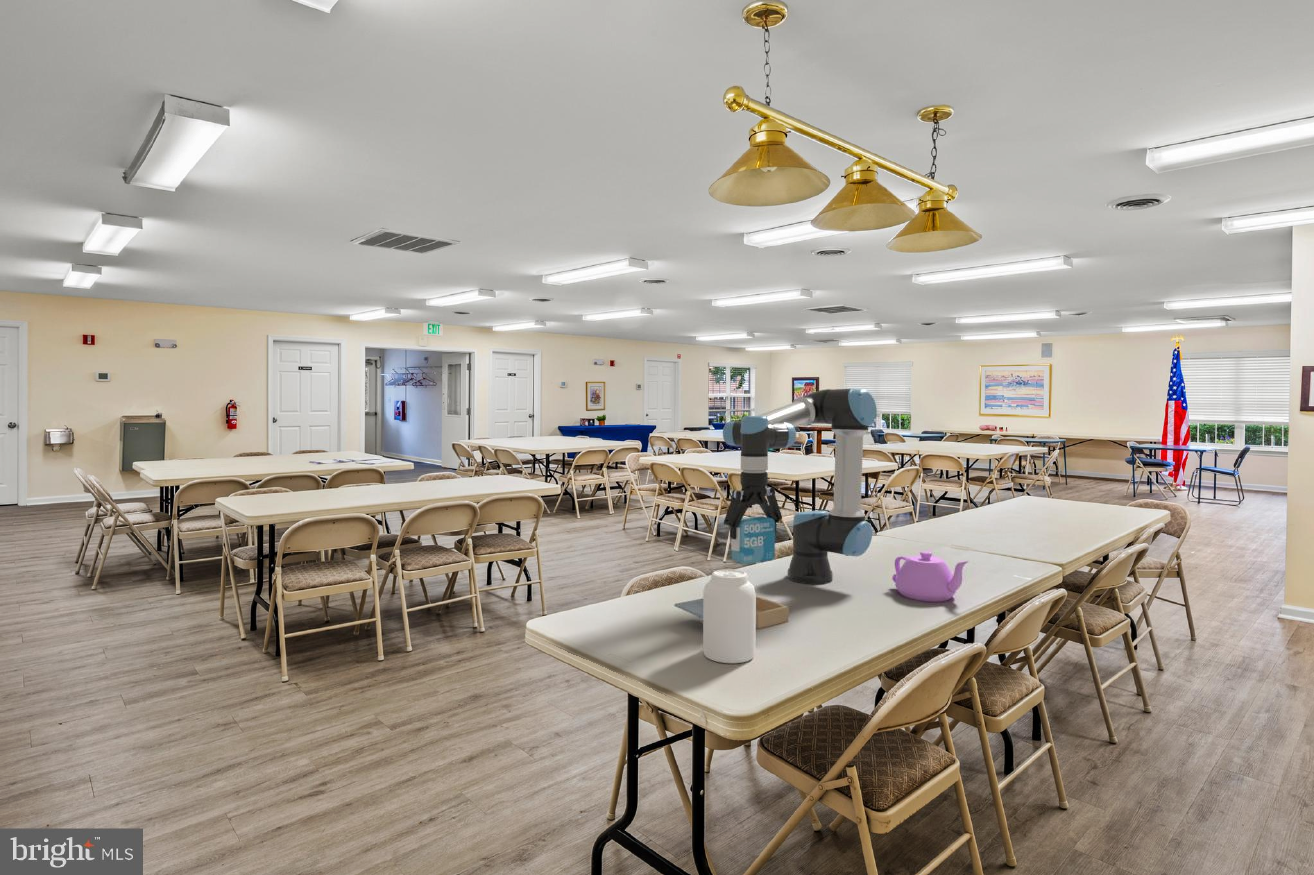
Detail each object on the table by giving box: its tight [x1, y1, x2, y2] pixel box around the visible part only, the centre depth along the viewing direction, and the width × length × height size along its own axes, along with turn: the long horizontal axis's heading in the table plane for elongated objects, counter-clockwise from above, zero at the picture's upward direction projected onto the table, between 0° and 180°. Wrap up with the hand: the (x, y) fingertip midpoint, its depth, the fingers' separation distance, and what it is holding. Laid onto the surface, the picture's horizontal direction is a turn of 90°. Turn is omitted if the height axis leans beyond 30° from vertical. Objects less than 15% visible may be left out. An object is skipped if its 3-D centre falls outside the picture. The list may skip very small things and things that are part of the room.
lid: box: [673, 597, 703, 620], centre depth 183 cm, size 11×17×4 cm, turn 33°
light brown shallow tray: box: [756, 595, 790, 629], centre depth 192 cm, size 11×17×4 cm, turn 33°
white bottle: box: [702, 568, 757, 664], centre depth 162 cm, size 12×12×20 cm
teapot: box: [892, 550, 969, 603], centre depth 212 cm, size 25×18×14 cm
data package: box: [731, 515, 776, 565], centre depth 190 cm, size 12×4×12 cm, turn 121°
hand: (753, 547), depth 191 cm, fingers closed on data package, 12 cm apart
